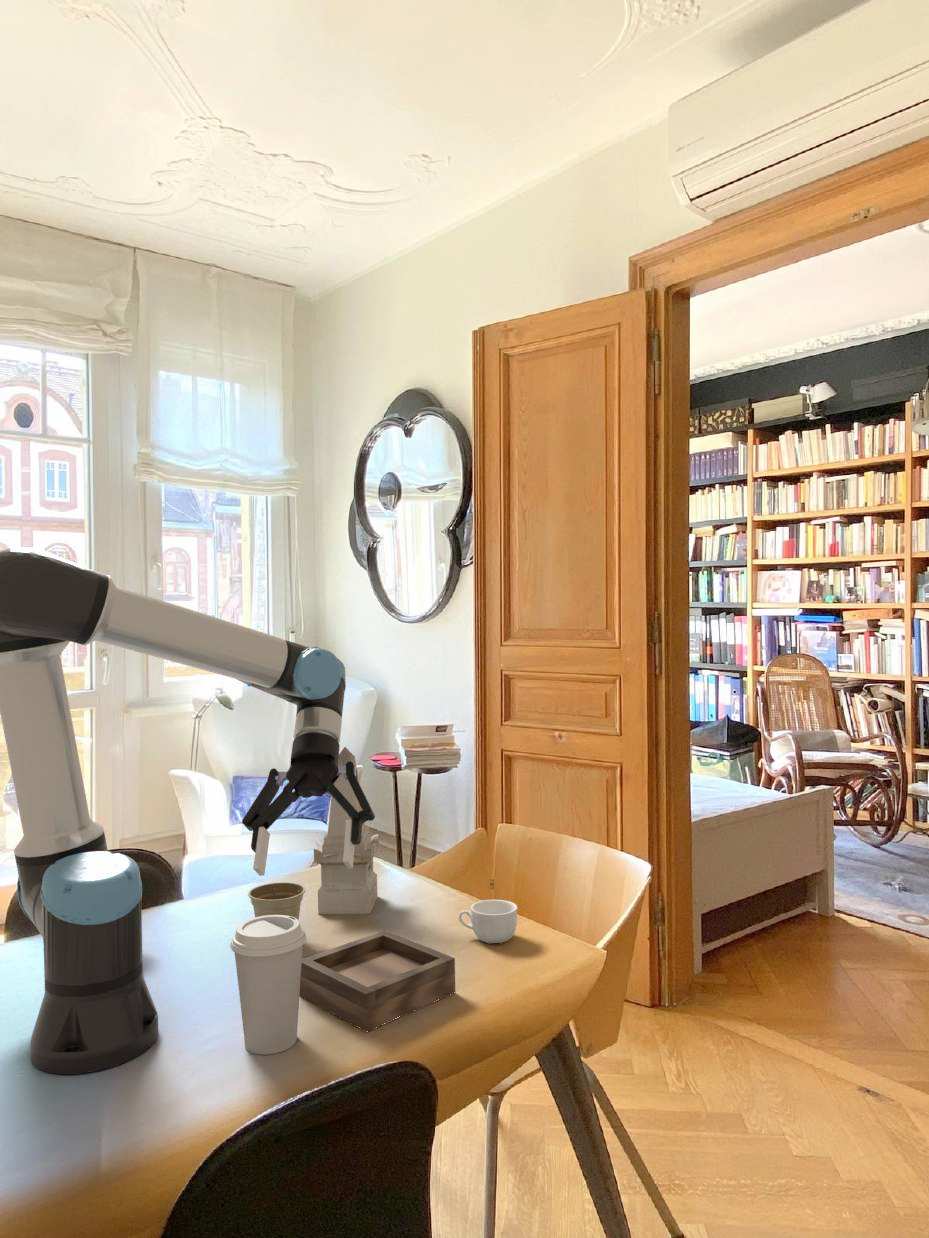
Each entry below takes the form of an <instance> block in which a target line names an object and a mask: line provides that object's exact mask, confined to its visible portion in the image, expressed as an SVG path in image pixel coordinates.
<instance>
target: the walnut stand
mask: <svg viewBox="0 0 929 1238" xmlns="http://www.w3.org/2000/svg"><path fill="white" fill-rule="evenodd" d="M455 959H456V958H455V957H453V956H450V955H448V954H445V953H443V952H440V951H438V950H435V949H433V948H430V947H428V946H426V945H422V944H421V943H418V942H416V941H413V940H410V939H408V938H406V937H403V936H400V935H398V934H396V933H392V932H390V931H388V930H385V929H384V930H382V931H379V932H376V933H373V934H370V935H367V936H364V937H361V938H358V939H356V940H353V941H350V942H348V943H345V944H342V945H341V944H340V945H339V946H335V947H333V948H330V949H327V950H324V951H321V952H318V953H316V954H312V955H310V956H307V957H304V958H302V962H301V977H300V993H299V997H301V998H303V999H305V1000H307V1001H308V1002H310V1003H312V1004H314V1005H316V1006H317V1007H319V1006H320V1007H319V1008H321V1007H322V1008H321V1009H323V1010H325V1009H326V1010H325V1011H327V1012H328V1011H329V1013H330V1012H331V1014H332V1013H334V1014H335V1015H334V1014H333V1015H334V1016H336V1015H337V1016H336V1017H338V1016H339V1017H341V1018H342V1019H341V1018H340V1019H341V1020H343V1021H345V1020H346V1021H345V1022H347V1023H349V1024H350V1023H352V1024H353V1025H352V1024H351V1025H352V1026H354V1025H355V1026H354V1027H356V1026H358V1027H360V1028H361V1029H362V1031H363V1030H365V1031H369V1030H371V1031H373V1030H375V1029H377V1028H376V1027H378V1026H380V1025H382V1024H384V1023H387V1022H388V1021H391V1020H393V1019H395V1018H397V1017H399V1016H402V1015H405V1014H407V1013H409V1014H411V1013H413V1011H414V1010H416V1011H418V1010H420V1009H422V1008H421V1007H423V1006H425V1007H426V1005H427V1004H429V1005H431V1004H430V1003H432V1002H434V1001H436V1000H438V999H441V998H443V997H445V996H447V997H449V996H451V995H450V994H452V993H454V992H455V993H456V963H455V962H456V960H455ZM455 993H454V994H455ZM452 995H453V994H452ZM445 998H446V997H445ZM443 999H444V998H443ZM441 1000H442V999H441ZM438 1001H439V1000H438ZM436 1002H437V1001H436ZM434 1003H435V1002H434ZM432 1004H433V1003H432ZM427 1006H428V1005H427ZM419 1008H420V1009H419ZM423 1008H424V1007H423ZM417 1009H418V1010H417ZM410 1012H411V1013H410ZM414 1012H415V1011H414ZM407 1015H408V1014H407ZM405 1016H406V1015H405ZM339 1017H338V1018H339ZM402 1017H403V1016H402ZM393 1021H394V1020H393ZM391 1022H392V1021H391ZM387 1024H388V1023H387ZM384 1025H385V1024H384ZM382 1026H383V1025H382ZM358 1027H357V1028H358ZM380 1027H381V1026H380ZM374 1028H375V1029H374ZM378 1028H379V1027H378ZM361 1029H360V1030H361ZM365 1031H364V1032H365ZM369 1032H370V1031H369Z"/></svg>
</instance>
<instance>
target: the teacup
mask: <svg viewBox="0 0 929 1238" xmlns="http://www.w3.org/2000/svg"><path fill="white" fill-rule="evenodd" d="M463 914H466V915H467V916H468V917H469V918H470V921H471V923H466V922H465V921H464V920H463V919H462V917H463V916H462V915H463ZM458 920H459V922H460V924H461V925H462V926H464V927H466V928H468V929H470V930H473V932H474V935H475V936H476V937H477V938H478V939H479V940H480V941H482V942H483V941H484V942H483V943H485V942H486V943H485V944H489V943H500V944H503V943H502V942H504V943H506V942H508V941H509V940H510V939H511V938H512V937H513V936H514V934H515V932H516V930H517V923H518V905H517V904H516V903H514V902H512V901H510V900H503V899H484V900H479V901H477V902H474V903H473V904H471V906H470V910H466V909H465V910H462V911H461V912H460V913H459V915H458ZM505 941H506V942H505Z"/></svg>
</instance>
